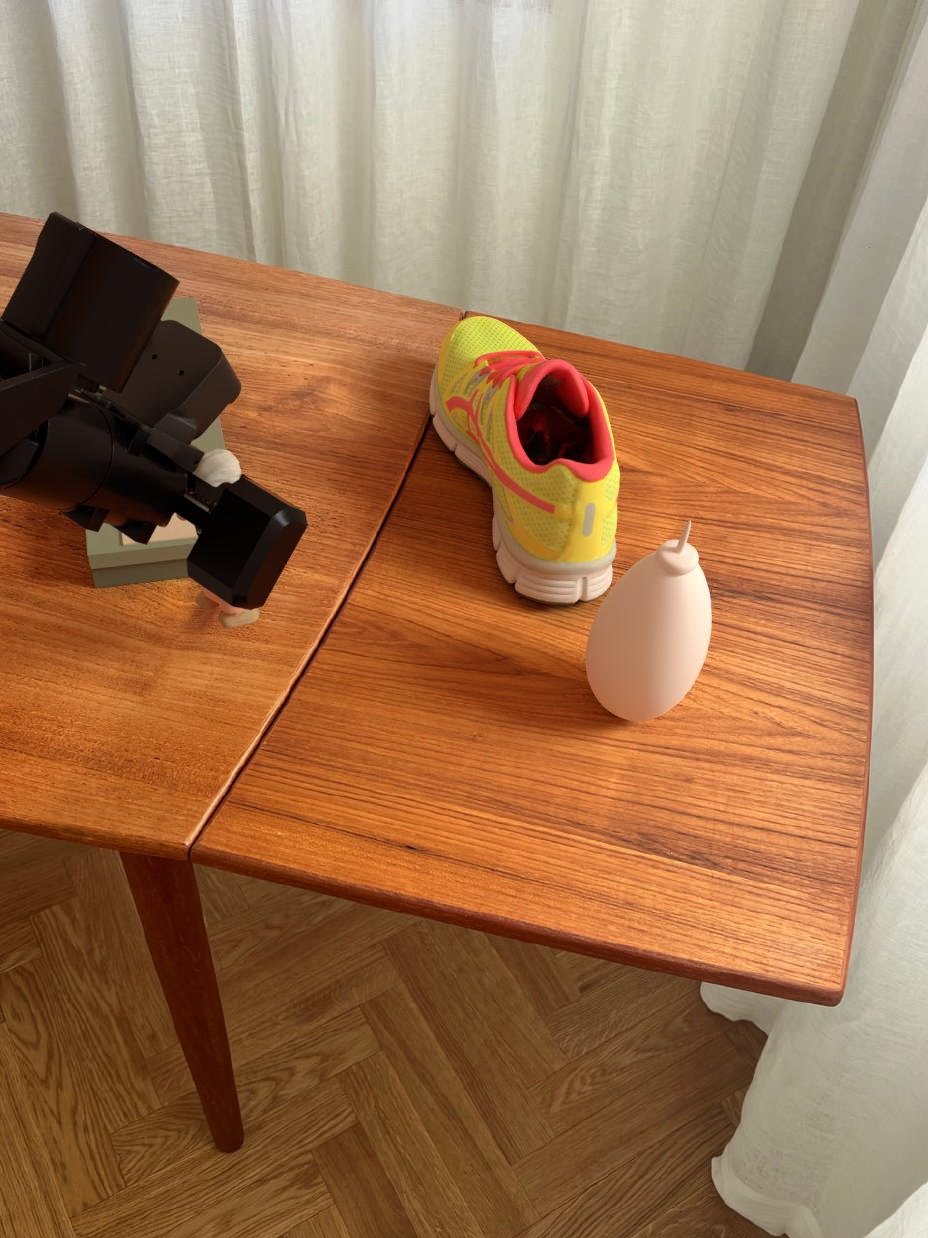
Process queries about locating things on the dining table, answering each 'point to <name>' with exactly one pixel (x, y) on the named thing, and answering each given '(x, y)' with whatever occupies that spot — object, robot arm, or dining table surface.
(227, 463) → the grandmother figurine
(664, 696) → the white bulb air blower
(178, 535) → the olive green stone
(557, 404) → the running shoe
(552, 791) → the dining table surface
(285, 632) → the dining table surface
